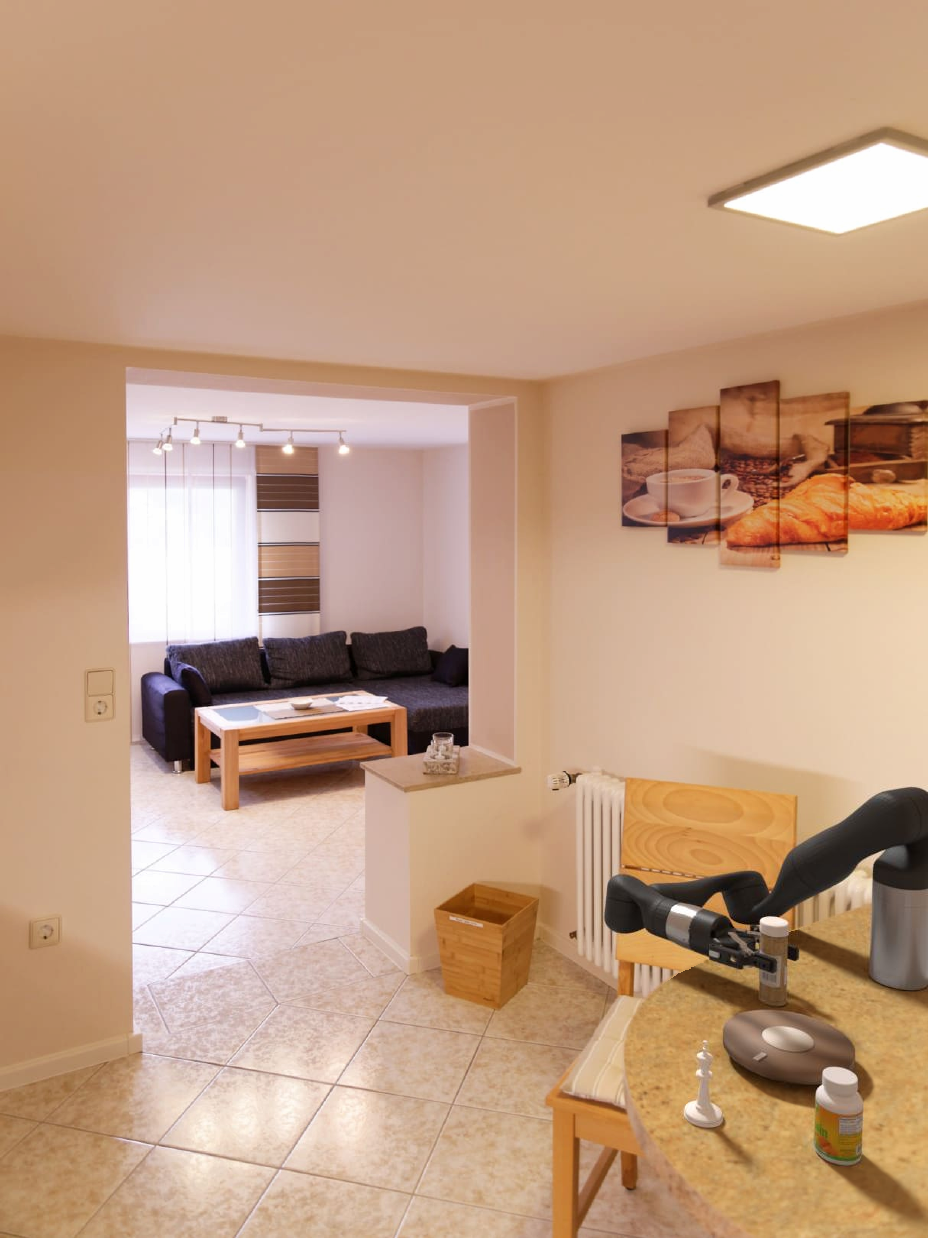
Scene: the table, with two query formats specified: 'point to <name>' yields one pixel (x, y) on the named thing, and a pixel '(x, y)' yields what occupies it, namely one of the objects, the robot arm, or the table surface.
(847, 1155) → the supplement bottle
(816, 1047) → the turntable platter
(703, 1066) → the chess piece
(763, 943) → the sprinkles bottle
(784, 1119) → the table surface
